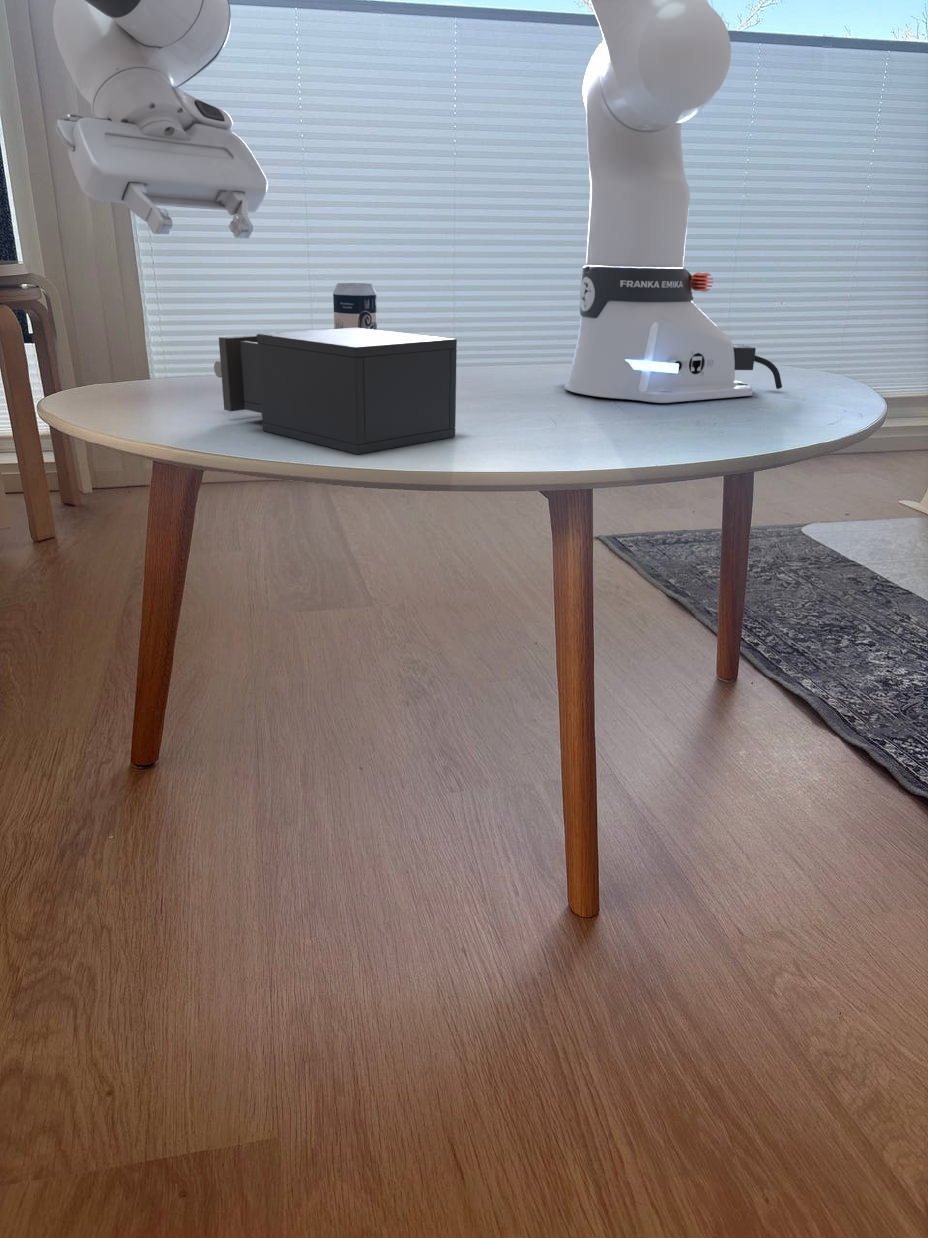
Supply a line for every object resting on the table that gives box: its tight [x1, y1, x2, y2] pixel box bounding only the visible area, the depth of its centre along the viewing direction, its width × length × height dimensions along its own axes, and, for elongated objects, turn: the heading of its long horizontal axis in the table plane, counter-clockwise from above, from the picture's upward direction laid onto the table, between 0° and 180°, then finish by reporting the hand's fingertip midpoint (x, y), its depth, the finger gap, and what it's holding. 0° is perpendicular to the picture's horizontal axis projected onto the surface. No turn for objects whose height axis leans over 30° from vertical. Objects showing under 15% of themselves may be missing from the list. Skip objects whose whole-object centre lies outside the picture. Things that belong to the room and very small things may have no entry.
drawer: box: [213, 334, 262, 414], centre depth 90 cm, size 16×10×7 cm, turn 46°
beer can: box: [332, 282, 378, 330], centre depth 104 cm, size 5×5×12 cm
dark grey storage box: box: [256, 328, 458, 455], centre depth 84 cm, size 14×12×9 cm
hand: (206, 231), depth 94 cm, fingers open, 8 cm apart
